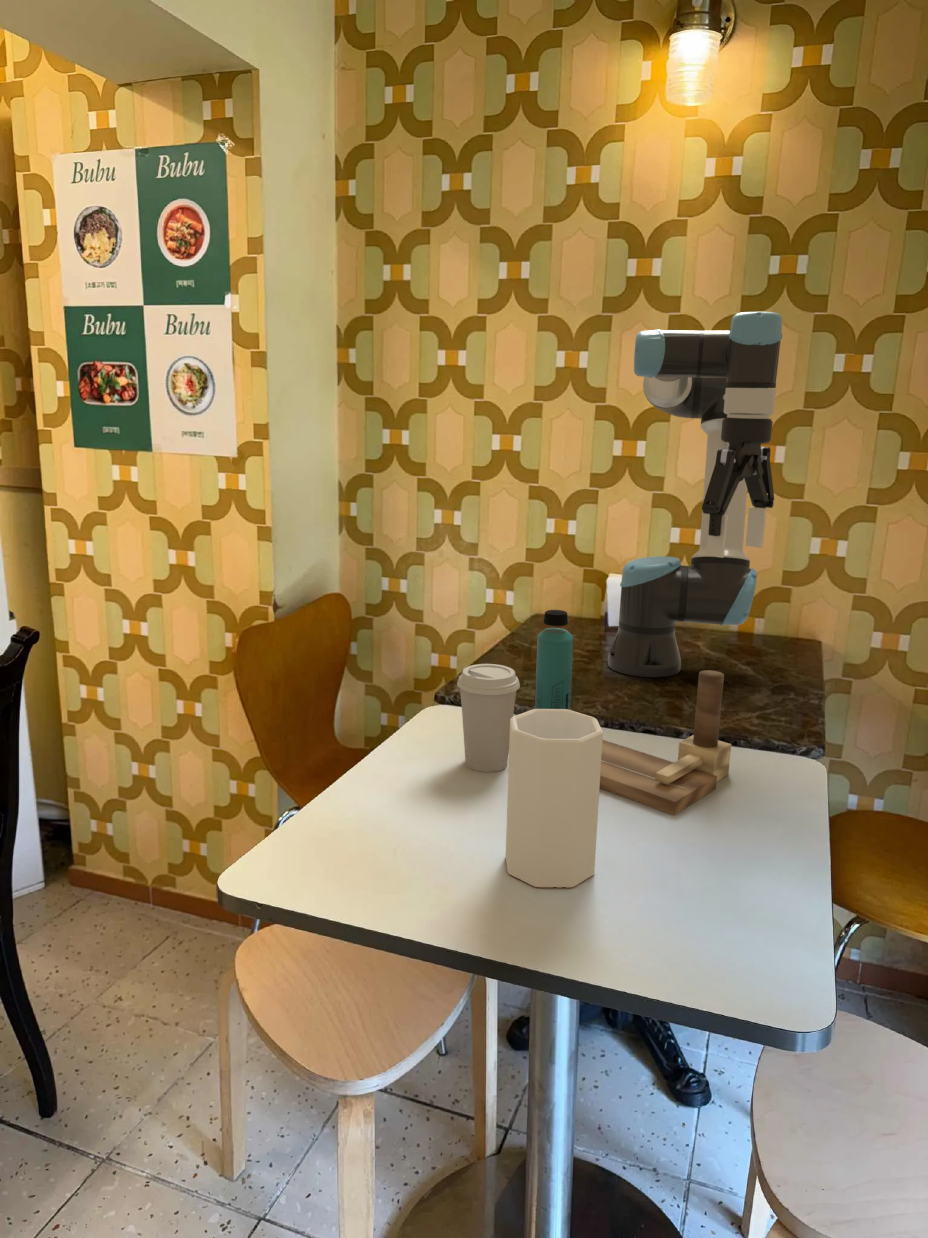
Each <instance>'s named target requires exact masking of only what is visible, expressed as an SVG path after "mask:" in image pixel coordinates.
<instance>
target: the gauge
mask: <svg viewBox="0 0 928 1238" xmlns="http://www.w3.org/2000/svg"><path fill="white" fill-rule="evenodd" d="M724 680H725V674H724V673H722V672H721V671H718V670H712V669H710V670H709V669H708V670H707V669H706V670H705V669H704V670H701V671H699V673H698V681H697V682H698V683H697V692H696V693H697V694H696V703H695V704H696V705H695V713H694V714H695V716H694V718H695V719H694V727H693V734H692V735H691V736H688V737H687V738H685V739H683V740H681V741H679V743H678V754H677V755H678V756H677V760H675V761H673V762H674V763H672V764H670V765H669V766H667V767H665V768H663V769H661V770H660V771H658V772H656V775H655V781H658V782H661V783H664V784H667V785H668V784H669V783H671V782H673V781H675V780H676V779H678V778H680V777H681V776H683V775H685V774H687V773H688V772H690V771H692V770H693V769H696V770H699V771H702V772H705V773H709V774H712V775H715V776H717V782H716V783H718V782H719V781H721V780H722V779H723V778H725V777H727V776H729V773H730V761H731V751H732V744H731V743H730V742H729V743H728V742H727V741H726V742H725V741H722V740H719V734H720V723H721V712H722V704H723V703H722V702H723V700H722V699H723V690H724Z"/></svg>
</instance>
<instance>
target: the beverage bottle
mask: <svg viewBox="0 0 928 1238" xmlns="http://www.w3.org/2000/svg"><path fill="white" fill-rule="evenodd" d="M568 618H569V617H568V612H567V611H565V610H563V609H562V610H561V609H548V610H546V611H544V614H543V624H544V625H546V626H552V627H547V628H544V629H543V630H542V631H540V632H539V633H538V634H537V635H536V639H537V640H536V641H537V642H536V643H537V645H536V667H535V674H534V675H535V682H534V683H535V687H534V688H535V692H534V708H533V709H568V710H572V703H573V701H572V698H573V697H572V695H573V691H572V690H573V688H572V687H573V684H574V683H573V680H574V679H573V678H574V677H573V669H574V668H573V660H574V658H573V654H574V653H573V650H574V648H573V647H574V636H573V634H571V632H569V630H567V629H565V628H560V627H562V626H563V627H564V626H567V625H568V624H569V620H568Z"/></svg>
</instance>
